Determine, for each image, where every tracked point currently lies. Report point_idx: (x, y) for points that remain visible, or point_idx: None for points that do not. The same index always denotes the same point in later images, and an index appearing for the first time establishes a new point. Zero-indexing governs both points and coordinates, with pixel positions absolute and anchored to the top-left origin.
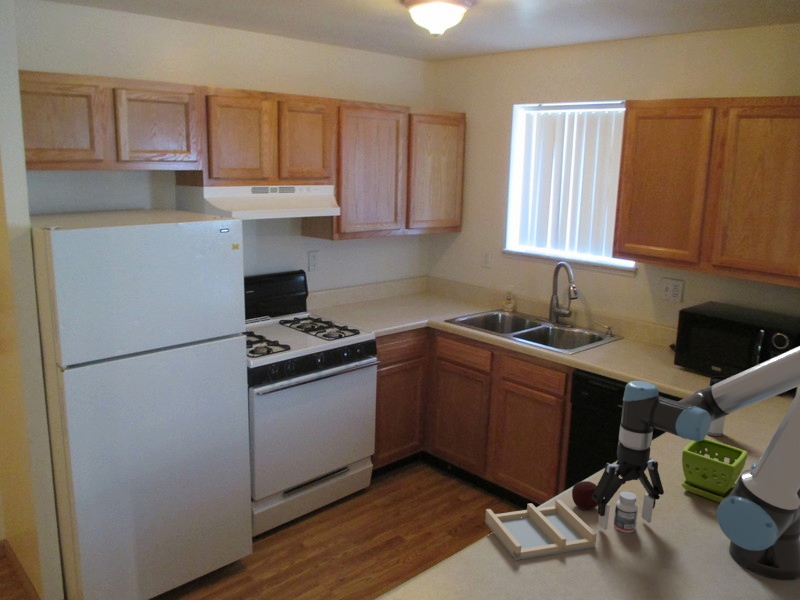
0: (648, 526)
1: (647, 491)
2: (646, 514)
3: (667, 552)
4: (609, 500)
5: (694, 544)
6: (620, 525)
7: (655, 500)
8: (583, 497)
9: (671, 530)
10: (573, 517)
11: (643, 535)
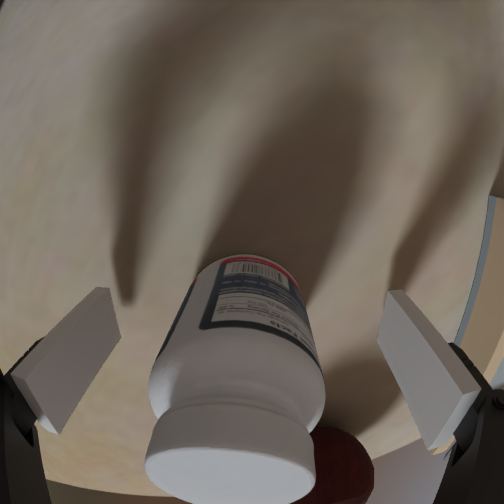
0: (115, 280)
1: (33, 441)
2: (97, 327)
3: (164, 45)
4: (482, 427)
5: (18, 109)
6: (300, 298)
7: (13, 366)
8: (365, 470)
9: (39, 224)
10: (500, 359)
11: (186, 213)
